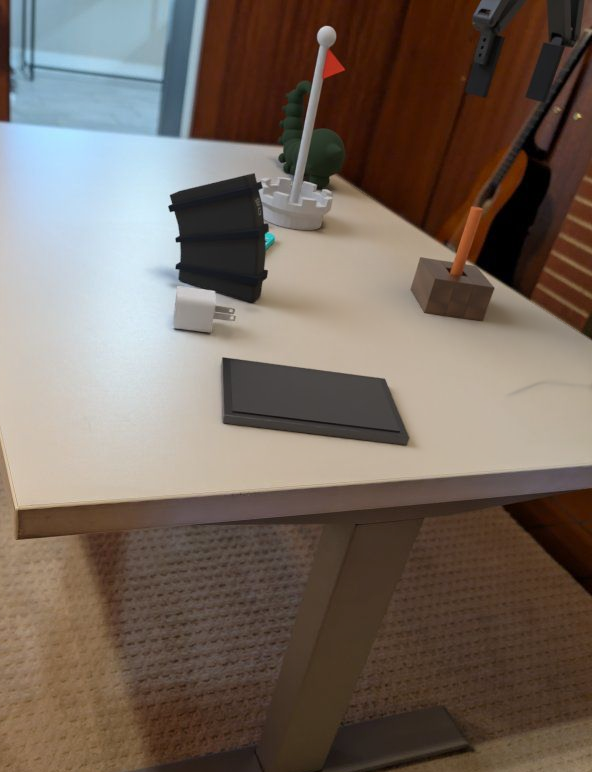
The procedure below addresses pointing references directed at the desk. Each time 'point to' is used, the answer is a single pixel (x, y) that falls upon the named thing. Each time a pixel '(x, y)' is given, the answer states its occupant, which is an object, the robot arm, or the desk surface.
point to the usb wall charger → (198, 310)
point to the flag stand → (303, 160)
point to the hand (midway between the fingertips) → (506, 98)
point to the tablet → (309, 401)
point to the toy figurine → (323, 146)
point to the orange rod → (466, 240)
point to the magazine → (222, 236)
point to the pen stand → (451, 290)
